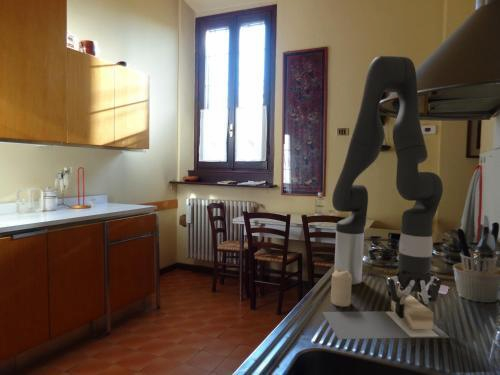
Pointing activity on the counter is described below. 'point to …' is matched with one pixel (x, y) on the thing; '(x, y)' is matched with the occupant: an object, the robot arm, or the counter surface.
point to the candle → (341, 288)
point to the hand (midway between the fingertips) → (410, 316)
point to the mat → (376, 326)
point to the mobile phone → (442, 289)
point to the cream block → (416, 314)
